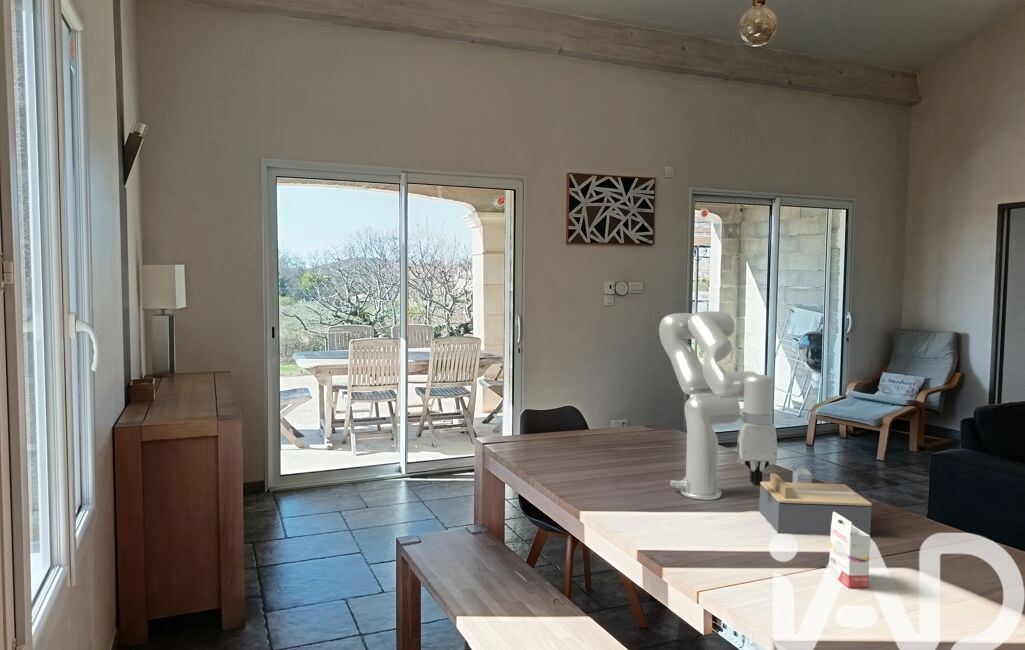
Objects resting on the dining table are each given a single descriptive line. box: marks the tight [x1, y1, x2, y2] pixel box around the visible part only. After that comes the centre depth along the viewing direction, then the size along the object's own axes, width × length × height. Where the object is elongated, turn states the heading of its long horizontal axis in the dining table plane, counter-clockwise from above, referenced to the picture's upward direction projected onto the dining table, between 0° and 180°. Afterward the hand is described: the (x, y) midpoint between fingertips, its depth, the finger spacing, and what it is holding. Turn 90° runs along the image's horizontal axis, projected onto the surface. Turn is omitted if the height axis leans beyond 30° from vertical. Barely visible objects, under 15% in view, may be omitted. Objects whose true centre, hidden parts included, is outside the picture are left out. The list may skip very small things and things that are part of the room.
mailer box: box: [758, 484, 872, 536], centre depth 197 cm, size 24×18×8 cm
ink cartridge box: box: [828, 512, 871, 589], centre depth 159 cm, size 9×5×15 cm, turn 5°
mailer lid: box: [760, 473, 873, 507], centre depth 197 cm, size 24×18×4 cm
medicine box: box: [791, 467, 813, 483], centre depth 221 cm, size 8×4×9 cm, turn 168°
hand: (755, 484), depth 197 cm, fingers closed
